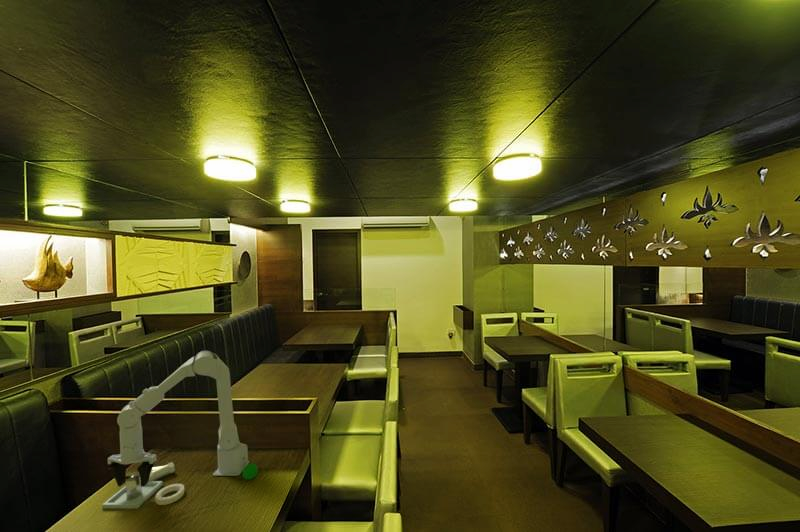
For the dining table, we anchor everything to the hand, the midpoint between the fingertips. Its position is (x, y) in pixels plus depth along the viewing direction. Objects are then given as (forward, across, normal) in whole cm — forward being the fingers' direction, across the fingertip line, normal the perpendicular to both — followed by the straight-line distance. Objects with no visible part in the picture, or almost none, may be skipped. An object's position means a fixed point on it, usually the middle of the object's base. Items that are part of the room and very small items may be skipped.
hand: (133, 484), depth 112 cm
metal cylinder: (+4, 0, 0) cm, 4 cm away
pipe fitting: (+4, 0, -10) cm, 11 cm away
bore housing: (+4, -12, 0) cm, 13 cm away
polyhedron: (+4, -34, -9) cm, 35 cm away
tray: (+4, 0, 0) cm, 4 cm away
